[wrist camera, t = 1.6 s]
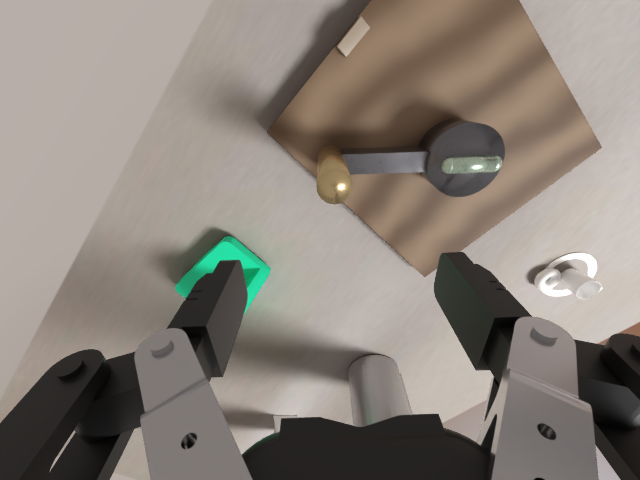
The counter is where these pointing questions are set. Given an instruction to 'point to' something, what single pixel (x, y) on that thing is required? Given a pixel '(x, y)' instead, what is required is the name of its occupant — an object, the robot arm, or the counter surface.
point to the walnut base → (439, 115)
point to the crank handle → (420, 161)
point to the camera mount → (227, 250)
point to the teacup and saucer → (570, 278)
